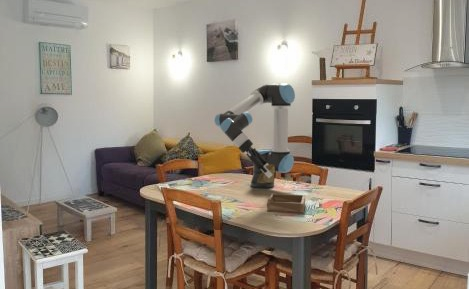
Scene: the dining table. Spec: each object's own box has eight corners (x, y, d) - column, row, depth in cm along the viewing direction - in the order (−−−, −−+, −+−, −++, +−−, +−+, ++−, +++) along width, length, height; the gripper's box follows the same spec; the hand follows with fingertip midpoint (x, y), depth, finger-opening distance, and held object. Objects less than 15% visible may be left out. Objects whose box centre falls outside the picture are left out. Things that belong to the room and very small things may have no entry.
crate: (271, 202, 232) (271, 193, 231) (305, 204, 228) (305, 195, 227) (267, 211, 214) (267, 201, 214) (303, 213, 211) (303, 203, 210)
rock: (257, 179, 218) (276, 177, 218) (255, 165, 223) (274, 163, 223) (257, 189, 227) (275, 187, 228) (254, 175, 232) (272, 173, 232)
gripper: (242, 145, 237) (270, 175, 235) (233, 150, 217) (263, 183, 215) (252, 136, 235) (280, 167, 233) (243, 140, 215) (274, 174, 213)
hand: (272, 175), depth 224 cm, fingers closed on rock, 8 cm apart
